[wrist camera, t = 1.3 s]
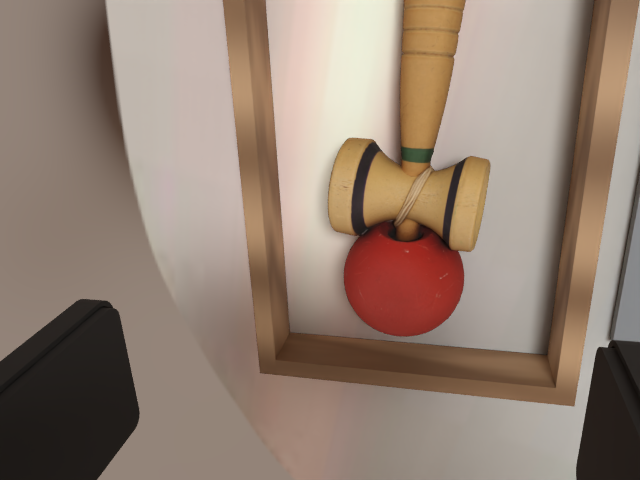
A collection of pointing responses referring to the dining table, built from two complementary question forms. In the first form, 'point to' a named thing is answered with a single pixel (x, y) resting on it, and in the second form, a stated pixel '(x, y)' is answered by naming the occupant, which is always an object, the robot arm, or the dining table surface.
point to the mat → (629, 283)
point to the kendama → (410, 193)
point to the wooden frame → (420, 359)
